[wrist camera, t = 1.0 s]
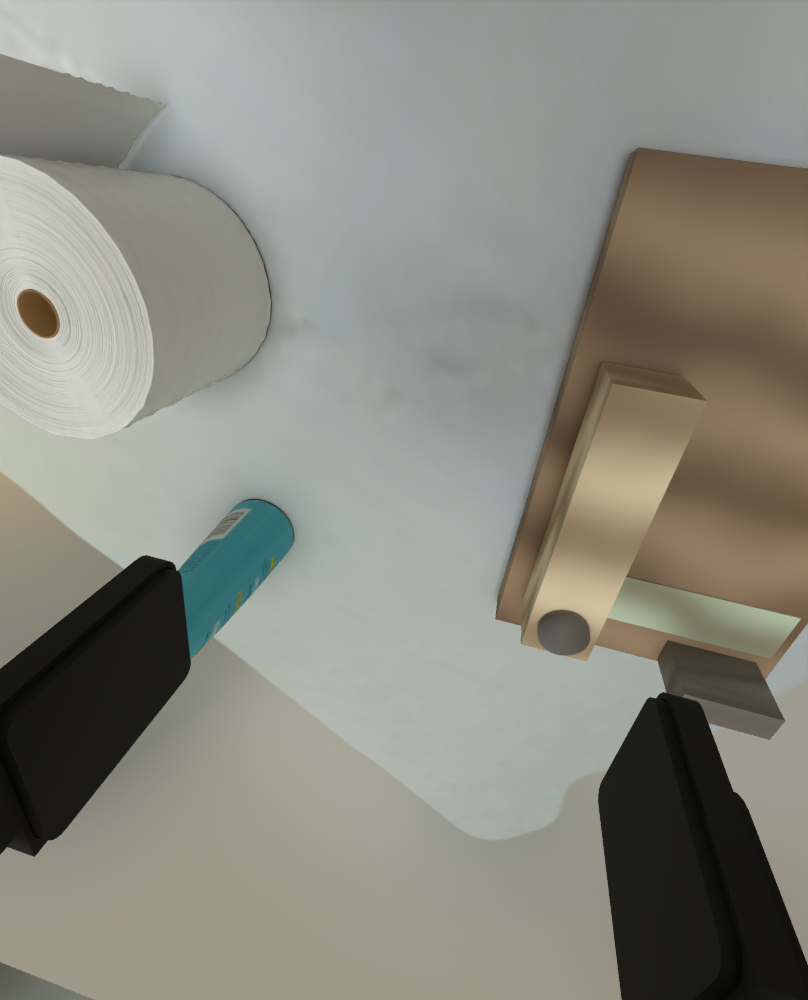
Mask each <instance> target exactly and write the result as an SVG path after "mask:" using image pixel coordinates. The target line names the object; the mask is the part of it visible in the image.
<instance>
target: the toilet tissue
mask: <svg viewBox="0 0 808 1000" xmlns="http://www.w3.org/2000/svg"><path fill="white" fill-rule="evenodd" d="M163 106H164V104H162V103H156V102H153V101H151V100H149V99H148V98H140V97H137V96H133V95H131V94H130V93H128V92H121V91H117V90H115V89H114V88H112V87H105V86H103V85H102V84H100V83H92V82H88V81H86V80H85V79H83V78H79V77H74V76H72V75H70V74H68V73H60V72H56V71H53V70H50V69H47V68H44V67H40V66H37V65H34V64H31V63H27V62H24V61H21V60H18V59H15V58H11V57H8V56H5V55H2V54H0V402H1V403H2V404H3V405H4V406H6V407H7V408H9V409H10V410H12V411H13V412H15V413H16V414H17V415H19V416H20V417H22V418H23V419H25V420H27V421H29V422H31V423H33V424H35V425H37V426H39V427H41V428H43V429H45V430H47V431H49V432H50V433H52V434H56V435H63V436H71V437H78V438H87V439H95V438H98V437H102V436H105V435H107V434H110V433H113V432H115V431H118V430H120V429H123V428H127V427H129V426H131V425H132V424H133V423H135V422H136V421H138V420H140V419H142V418H144V417H148V416H151V415H153V414H154V413H156V412H157V411H159V410H160V409H162V408H165V407H168V406H171V405H173V404H175V403H177V402H178V401H180V400H181V399H183V398H184V397H186V396H188V395H191V394H193V393H195V392H197V391H199V390H201V389H203V388H206V387H209V386H211V385H212V384H213V383H216V382H219V381H221V380H222V379H224V378H226V377H229V376H231V375H232V374H233V373H235V372H236V371H238V370H239V369H240V368H242V367H243V366H245V365H246V364H247V363H248V362H249V361H250V360H251V359H252V357H253V356H254V355H255V354H256V353H257V351H258V349H259V347H260V345H261V344H262V342H263V341H264V340H265V338H266V330H267V327H268V324H269V322H270V310H271V299H270V293H269V287H268V280H267V276H266V273H265V269H264V265H263V261H262V259H261V256H260V254H259V252H258V250H257V247H256V245H255V243H254V241H253V239H252V237H251V236H250V234H249V233H248V231H247V229H246V228H245V226H244V225H243V223H242V222H241V220H240V219H239V218H238V217H237V216H236V215H235V213H234V212H233V211H232V210H231V209H230V208H229V207H228V206H227V205H226V203H224V202H223V201H222V200H221V199H219V198H218V197H217V196H215V195H214V194H213V193H212V192H210V191H209V190H208V189H206V188H204V187H202V186H200V185H198V184H196V183H194V182H192V181H190V180H186V179H182V178H179V177H175V176H173V175H170V174H164V175H163V174H156V173H154V172H139V171H131V170H125V169H118V168H119V165H120V164H121V163H122V161H123V160H124V159H125V158H126V155H127V153H128V151H129V149H130V147H131V145H132V144H133V142H134V141H135V139H136V137H137V136H138V134H139V133H140V131H141V130H142V128H143V127H144V126H145V125H146V124H147V123H148V122H149V121H150V120H151V118H152V117H153V116H154V115H155V113H156V112H157V111H158V110H159V109H161V108H162V107H163Z"/></svg>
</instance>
